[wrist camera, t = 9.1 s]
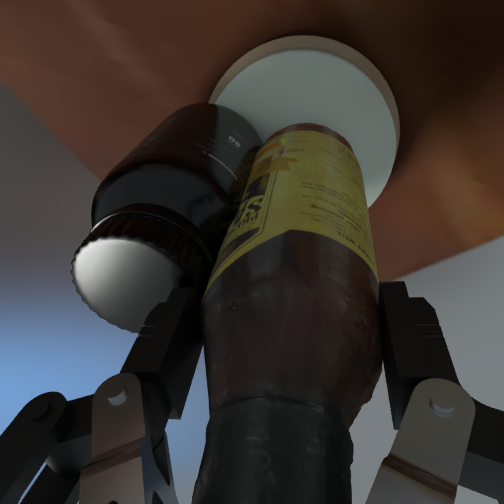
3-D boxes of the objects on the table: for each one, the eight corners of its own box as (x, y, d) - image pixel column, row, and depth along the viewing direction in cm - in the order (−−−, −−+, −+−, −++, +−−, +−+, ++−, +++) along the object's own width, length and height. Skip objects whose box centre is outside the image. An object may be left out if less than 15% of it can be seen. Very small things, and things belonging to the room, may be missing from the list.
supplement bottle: (291, 173, 23) (267, 318, 14) (207, 225, 26) (139, 373, 17) (218, 73, 21) (126, 165, 11) (134, 144, 24) (4, 264, 14)
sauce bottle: (259, 108, 21) (54, 549, 5) (375, 129, 21) (542, 663, 5) (245, 212, 25) (103, 645, 9) (342, 231, 25) (374, 712, 9)
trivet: (404, 17, 20) (413, 23, 18) (393, 217, 27) (399, 237, 25) (184, 52, 23) (171, 60, 21) (225, 227, 29) (218, 246, 27)
